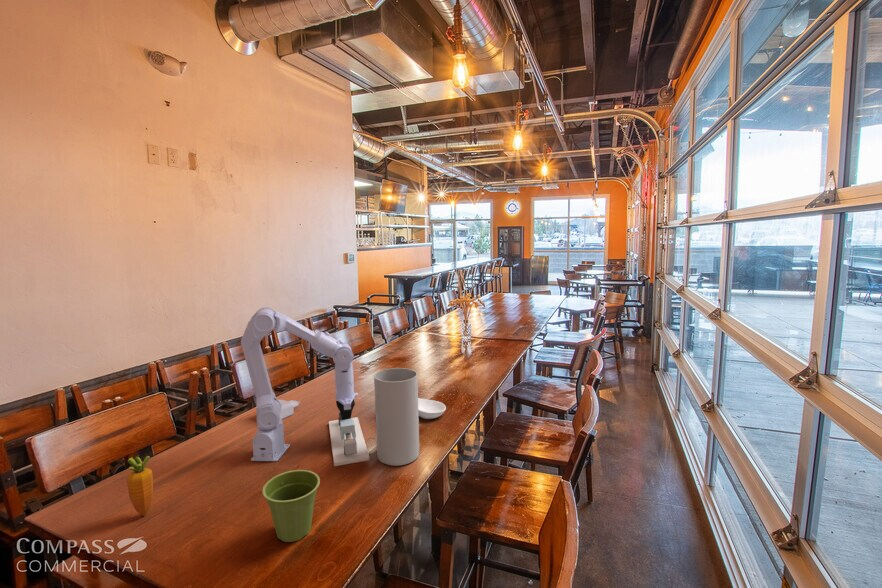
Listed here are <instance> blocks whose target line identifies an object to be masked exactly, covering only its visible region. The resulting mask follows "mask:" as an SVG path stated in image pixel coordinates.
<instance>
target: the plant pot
mask: <svg viewBox="0 0 882 588" xmlns="http://www.w3.org/2000/svg"><path fill="white" fill-rule="evenodd" d="M320 483H321V478H320V477H319V475H318V473H315V472H313V471H312V470H305V469H295V470H289V471H284V472H282V473H279V474H277V475H275V476H273V477H272V478H271V479H269V480H268V481H267V482H266V483H265V484H264V485H263V487H262V496H263V497H264V498H265V499H266V501H267V505H268V507H269V509H270V513H271V518H272V521H273V525H274V529H275V533H276V538H278V540H280V541H282V542H284V543H292V542H293V543H294V542H297V541H300V540H302V539H303V538H304V537H305V536H306V535H309V534H310V531H311V529H312V524H313V523H312V522H313V515H314V507H315V499H316V495H317V492H318V488H319V487H320Z"/></svg>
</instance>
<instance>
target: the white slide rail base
mask: <svg viewBox="0 0 882 588" xmlns="http://www.w3.org/2000/svg"><path fill="white" fill-rule="evenodd" d="M352 418H353V420H354V424H355V431H356V438H352V433H347V434H344V436H345V439H344V440H341V435H340V420H342V417H341V413H340V411H338V419H334V420H329V421H328V427H329V428H328V429H329V435H330V436H329V437H330V442H331V443H330V444H331V451H332V459H333V467H338V466H343V465H348V464H354V463H360V462H367V461H370V455H369V450H368V447H367V445H366V441H365V437H364V434H363V431H362V428H361V425H360V421H359V417H358V416H357V417H352Z"/></svg>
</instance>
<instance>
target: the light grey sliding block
mask: <svg viewBox="0 0 882 588" xmlns="http://www.w3.org/2000/svg"><path fill="white" fill-rule="evenodd" d="M353 418H354V417H351V419H344V420H340V435H341V440H344V439H345V436H344V434H347V433H352V438H356V431H355V424H354V420H353Z"/></svg>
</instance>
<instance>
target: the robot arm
mask: <svg viewBox="0 0 882 588" xmlns="http://www.w3.org/2000/svg"><path fill="white" fill-rule="evenodd" d="M245 327H246V328H245V330H244V332H243V334H242V337H241V339H240V345H241V349H242V352H243V356H244V359H245V363H246V367H247V370H248V374H249V377H250V380H251V385H252V387H253V393H254V395H255V401H256V408H257V410H258V416H257V415H256V423H257V424H256V427H257V429H256V434H255V435H254V437H253V439H252V450H253V451H252V453H253V457H251V458H250V461H251V462H277V461H279V459H281V457H282V456H283V455H284V453H286V451H287V450H288V449H289V448H290V446H291V444H290V443H285V431H284V421H283V420H284V419H281V418H280V411H281V403H280V402H279V401H278V398H277V397H276V394H275V392H274V390H273V388H272V387H273V386H272V383H271V380H270V376H269V373H268V369H267V365H266V361H265V358H264V354H263V349H262V345H261V341H262V340H263V339H264V337H265V336H267V335H268V334H270V333H271V332H272V331H273V330H274V329H275V331H274V332H275V333H279V332H288V333H290V334H292V335H295V336H296V337H298V338H301V339H302V340H305V341H306V342H309V343H310V347H311V348H312V349H313V350H315V351H317V352H319V353H321V354H322V355H325V356H326V357H327V358H333V360H334V385H335V386H334V387H335V390H334V391H335V396H334V398H335V400H336V401H335V403H336V407H337V410H339V411H338V412H340V413H341V417H342V420H344V419H351V418H352V414H353V413H352V412H353V410H354V407H355V405H356V402H355V398H357V397H359V393H358V392H355V383H354V382H355V381H354V380H355V378H354V367H353V363H354V362H353V361H354V358H355V355H354V352H353V350H352V348H351V346H350V345H349V344H348V343H347V342H344V341H343V340H341V339H339V340H338V339H336V338H334V337H332V336H331V334H330V333H329V332H328V331H324V332H323V331H318V332H315V331H314V330H311V329H309V327H306V326H304V325H303V324H302V323H300V322H298V321H296V320H295V319H293V318H291V317H289V316H288V315H286V314H284V313H282V312H279V311H277V310H276V311H275V310H274V309H273V308H270V307H261V308H259V309H257V311H256V312H255V313H254V314H253V316H251V317H250V319H249V321H248V323H247V324H246V326H245Z"/></svg>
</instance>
